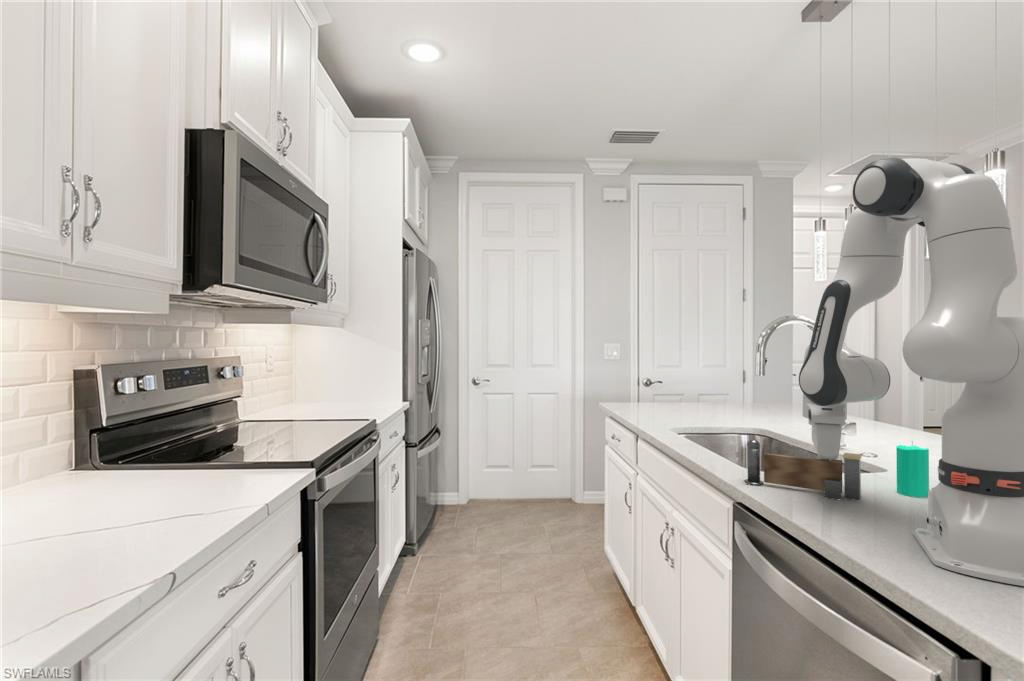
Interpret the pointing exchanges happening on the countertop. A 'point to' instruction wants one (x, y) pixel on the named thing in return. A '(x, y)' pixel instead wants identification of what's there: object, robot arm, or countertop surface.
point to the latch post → (846, 479)
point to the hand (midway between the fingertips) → (823, 469)
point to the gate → (800, 471)
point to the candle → (912, 471)
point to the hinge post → (753, 463)
